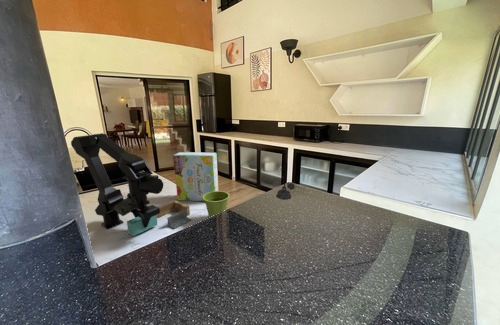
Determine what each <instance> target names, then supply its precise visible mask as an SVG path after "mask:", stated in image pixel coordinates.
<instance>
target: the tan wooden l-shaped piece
mask: <svg viewBox="0 0 500 325" xmlns="http://www.w3.org/2000/svg"><path fill="white" fill-rule="evenodd" d="M157 207H158V208H160V214H157V215H156V217H157V219H160V218H161V217H163V216H166V215H167V214H170V213H172V212H174V211H176V212H177V213H179V212H181V211H183V210H186V211H187V217H188V216H190V215H191V212H190V206H189V205H187V204H186V203H183V202H181V201H179V200H175V199H174V200H172V201H170V202H167V203H165V204H162V205H159V206H157Z"/></svg>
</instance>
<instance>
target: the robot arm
mask: <svg viewBox="0 0 500 325" xmlns="http://www.w3.org/2000/svg"><path fill="white" fill-rule="evenodd" d="M70 145H71V148H72V149H73V150H74V152H75V153H76V155H78V156H80V157H81V158H82V159H83V160H84V161H85V164H86V165H87V167H88V170H89V172H90V175H91V176H92V179H93V181H94V184H95V186H96V187H97V189H98V196H97V202H98V205H97V207H96V208H95V209H94V211H95V214H96V215H97V216H101V217H102V219H103V220H102V221H103V222H101V226H102V227H104V228H105V229H106V230H109V229H112V228H114V227H116V226H119V225H121V224H123V223H124V221H123V220H122V219H121V218H120V216H122V217H124V216H126V215H128V214H130V213H132V215H133V216H134V218H136V217H140V218H141V220H142V223H143V226H144V228H146V227H147V226H148V224H149V221H150V219H151V217H153V216H155V215H157V214H160V208H158V207H159V206H156V205H155V204H151V202H150V200H148V196H147V195H149V194H154V195H159V194H160V193H161V192H162V190H163V188H164V182H163V180H162V179H161V178H160V177H159V175H157V174H155V175H154V173H153V171H152V170H151V168H150V167H149V165H148V164H147V163H146V161H145V160H144V159H143V157H141V156H138V155H137V154H134V153H130V152H128V151H127V150H126V149H124V148H123V147H121V146H120V145H118V144H117V143H116V142H115V141H113V139H111V138H109V136H108V135H107V133H94V134H89V135H88V134H87V135H79V136H74V137H73V138H72V140H71V141H70ZM100 151H103V152H104V153H105V154H107V155H108V156H109V157H110V158H112V160H114V161H116V163H118V164H117V165H118V168H119V169H120V170H121V171H122V172H123V173H124V174H125V175H124V176H123V177H122V179H123V180H127V185H128V190H129V191H128V192H129V193H127V194H126V198H124V195H123V194H122V191H121V189H120V188H118V189H117V188H115V187H113V185H112V181H111V179H110V178H109V175H108V174H107V170H106V169H105V166H104V164H103V162H102V159H101V158H100V155H99V154H100ZM149 204H151V205H149Z"/></svg>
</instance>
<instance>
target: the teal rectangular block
mask: <svg viewBox="0 0 500 325" xmlns="http://www.w3.org/2000/svg"><path fill="white" fill-rule="evenodd" d="M126 225H127V233H129V234H130V235H131V236H133V237H134V236H137V235H139V234H141V233H143V232H145V231H147V230H149V229H151V228H154V227H156V226H157V225H158V218H157V217H156V215H155V216H153V217H151V219H150V221H149V224H148V226H147V227H146V228H144V226H143V223H142V220H141V218H140V217H136V218H135V217H134V218H131V219H129V220H127V221H126Z"/></svg>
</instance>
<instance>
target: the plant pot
mask: <svg viewBox="0 0 500 325" xmlns="http://www.w3.org/2000/svg"><path fill="white" fill-rule="evenodd" d="M229 198H230V193H229V192H226V191H223V190H218V191H213V192H209V193H206V194H205V195H203V199H204V201H203V202H204V204H205V207H206V211H207V215H208V218H209V217H211V216H213V215H216V214H218V213H221V212H223V211H224V210H226V211H227V207H228V201H229Z"/></svg>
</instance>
